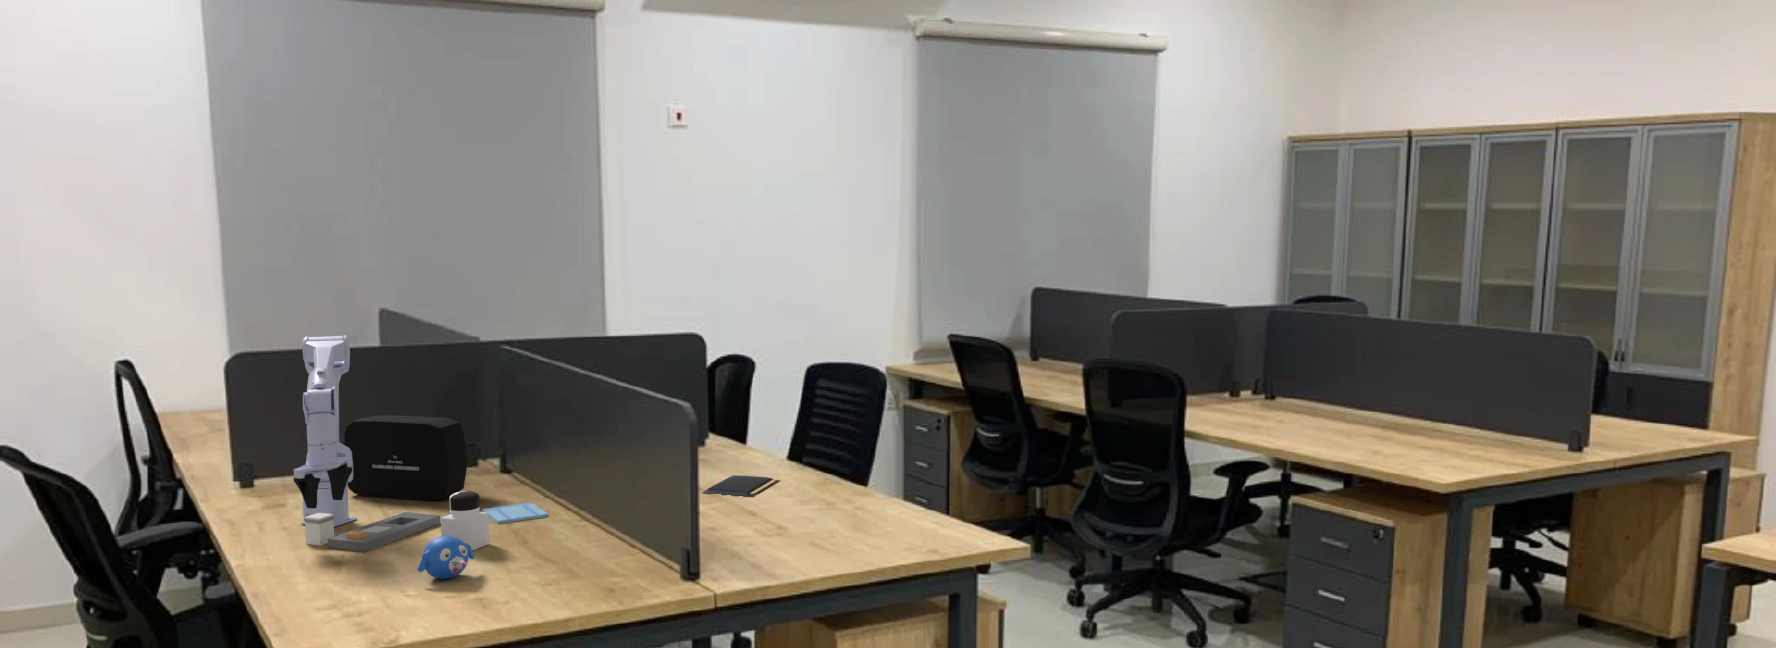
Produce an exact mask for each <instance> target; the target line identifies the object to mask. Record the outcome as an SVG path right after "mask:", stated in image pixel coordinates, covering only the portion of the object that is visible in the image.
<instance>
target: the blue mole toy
mask: <svg viewBox="0 0 1776 648" xmlns="http://www.w3.org/2000/svg"><path fill="white" fill-rule="evenodd" d="M475 558H476V557H475V554H474V552H473V551H472V549H471V546H470V545H469V544H467V543H464V542H463V541H462V540H461V539H459V538H457V537H455V536H442V535H441V536H438V537H435V538H434V539H432V540H430V541H429V542H428V543H427V544H426V545H425V547H424V549H423V553H422V557H421V560H420V562H419V565H418V566H417V571H418V572H420V573H422V572H424V571H426V572H427V574H428V575H430V576H431V577H433V578H435V579H438V580H439V579H440V580H447V579H448V580H449V579H452V578H455V577H457V576H458V575H460V574H461V573H462V572H463V571H465V569H466V567H467V565H468V563H469V559H470V560H474V559H475Z"/></svg>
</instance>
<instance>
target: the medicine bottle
mask: <svg viewBox="0 0 1776 648" xmlns="http://www.w3.org/2000/svg"><path fill="white" fill-rule="evenodd" d="M449 513H450V514H447V515H445V516H442V517H440V520H441V524H440V525H441V526H440V529H441V530H440V531H441V536H455V537H457V538H459V539H461V540H462V541H463V542H464V543H467V544H469V545H470V546H471V549H472V552H473V551H476V550H478V549H480V548H482V547H485V546H488V545H489V544H490V520H489V519H490V517H489V514H488V513H487V512H483V511H480V495H479V493H478V492H475V491H471V490H461V491H459V492H457V493H454V494H452V495H451V496H449Z"/></svg>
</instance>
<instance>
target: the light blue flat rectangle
mask: <svg viewBox="0 0 1776 648" xmlns="http://www.w3.org/2000/svg"><path fill="white" fill-rule="evenodd" d="M482 512H487V513H488V514H489V519H490V520H492V521H494V523H496V524H498V525H500V524H501V525H502V524H508V523H515V522H522V521H529V520H537V519H542V518H544V519H545V518H546V517H548V516H549V513H548V512H546V511H545V510H544V509H542V508H540V507H539V505H537V504H535V503H533V502H525V503H516V504H510V505H501V506H496V507H495V506H494V507H487V508H482Z"/></svg>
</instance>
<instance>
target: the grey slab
mask: <svg viewBox="0 0 1776 648" xmlns="http://www.w3.org/2000/svg"><path fill="white" fill-rule="evenodd" d="M438 525H441V515H439V514H429V513H428V514H427V513H419V512H410V511H405V512H401V513H399V514H395V515H392V516H390V517H386V518H384V519H381V520H379V521H375V522H372V523H370V524H366V525H363V526H361V527H358V528H354V529H352V530H349V531H346V532H343V533H340V534H337V535H334V537H331V538H328V543H327V549H328V548H329V549H337V550H346V551H356V552H363V553H366V552H369V551H372V550H374V549H377V548H379V547H382V546H385V545H387V544H390V543H392V542H395V541H398V540H401V539H404V538H406V537H408V536H411V535H414V534H416V533H420V532H423V531H425V530H428V529H430V528H433V527H436V526H438Z"/></svg>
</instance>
